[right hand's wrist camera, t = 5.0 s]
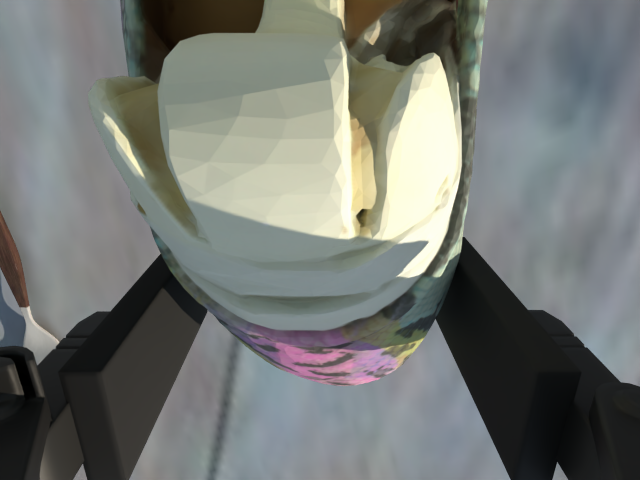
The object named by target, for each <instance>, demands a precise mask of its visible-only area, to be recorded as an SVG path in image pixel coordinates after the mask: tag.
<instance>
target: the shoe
mask: <svg viewBox="0 0 640 480" xmlns="http://www.w3.org/2000/svg"><path fill="white" fill-rule="evenodd" d="M487 2H488V0H120V4H121V18H122V30H123V38H124V45H125V53H126V60H127V67H128V74H129V77H127V76H120V77H113V78H104V79H99V80H97V81H96V82H95V84H94V85H93V87H92V88H91V90H90V91H89V93H88V102H89V108H90V111H91V114H92V117H93V120H94V123H95V125H96V127H97V129H98V132H99V134H100V136H101V138H102V140H103V142H104V144H105V146H106V148H107V150H108V152H109V154H110V157H111V159H112V160H113V162H114V164H115V166H116V167H117V169H118V171H119V172H120V174H121V176H122V177H123V179H124V181H125V183H126V184H127V186H128V188H129V189H130V197H131V201H132V202H133V204H134V205H135V207H136V208H137V210H138V211H139V212H140V214H141V215H142V217H143V218H144V219H145V221H146V222H147V223H148V224H149V225H150V228H151V231H152V234H153V237H154V239H155V242H156V244H157V246H158V248H159V250H160V253H161V255H162V257H163V259H164V261H165V262H166V264H167V266H168V267H169V269H170V271H171V272H172V273H173V275H174V276H175V277H176V279H177V280H178V281H179V283H180V284H181V285H182V286H183V288H184V289H185V290H186V291H187V292H188V293H189V294H190V295H191V296H192V297H193V298H194V299H195V300H196V301H197V302H198V303H200V304H201V305H203V306H204V307H205V308H206V309H207V310H208V311H210V312H211V313H212V314H213V315H214V316H215V317H216V318H217V319H218V321H219V322H220V323H221V324H222V325H223V326H225V327H226V328H227V329H228V330H229V331H230V332H231V333H232V334H233V335H234V336H235V337H236V338H237V339H238V340H239V341H240V342H242V343H243V344H244V345H245V346H246V347H248V348H249V349H250V350H252V351H253V352H254V353H256V354H257V355H258V356H260V357H261V358H263V359H264V360H265V361H267V362H268V363H270V364H272V365H273V366H275V367H277V368H279V369H281V370H284V371H286V372H289V373H292V374H294V375H297V376H300V377H303V378H306V379H309V380H312V381H316V382H319V383H323V384H330V385H335V386H350V385H358V384H363V383H368V382H371V381H374V380H377V379H380V378H381V377H383V376H385V375H387V374H389V373H391V372H392V371H394V370H396V369H397V368H398V367H400V366H401V365H402V364H403V363H404V362H405V361H406V360H407V359H408V358H409V356H410V355H411V354H412V353H413V352H414V351H415V349H416V348H417V347H418V346H419V344H420V343H421V342H422V340H423V339H424V337H425V336H426V334H427V332H428V331H429V329H430V327H431V326H432V324H433V322H434V320H435V318H436V316H437V314H438V313H439V311H440V309H441V307H442V305H443V302H444V300H445V297H446V295H447V292H448V289H449V287H450V284H451V282H452V279H453V276H454V273H455V270H456V267H457V264H458V260H459V256H460V252H461V246H462V235H463V226H464V219H465V215H466V211H467V204H468V197H469V189H470V180H471V175H472V159H473V154H474V142H475V125H476V106H477V97H478V89H479V73H480V62H481V54H482V44H483V33H484V23H485V14H486V8H487Z"/></svg>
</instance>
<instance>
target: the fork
mask: <svg viewBox="0 0 640 480" xmlns="http://www.w3.org/2000/svg"><path fill="white" fill-rule="evenodd" d="M0 268H1V270H2V272H3V274H4V276H5V278H6V280H7V282H8V284H9V286H10V288H11V290H12V293H13V295H14V297H15V299H16V301H17V303H18V305H19V307H20V309H21V311H22V313H23V316H24V318H25V322H26V330H25V335H24V340H23V347H26V348H28V349H29V350H31V351H32V352H33V353H34V357H35V360H36V363H37V365H38V364H39V363H40V362H41V361H42V360H43V359H44V358H45V357H46V356H47V355H48V354H49V353H50V352H51V351H52V350H53V349H56V346H57V344H58V343H59V341H58V340H57V339H56V338H55V337H54V336H53V335H51V334H50V333H49V332H47V331H46V330H45V329H43V328H42V327H40V326H39V325H38V324H37V323H36V322H35V321H34V319H33V317H32V315H31V311H30V306H29V301H28V295H27V290H26V284H25V278H24V273H23V268H22V264H21V260H20V256H19V253H18V250H17V247H16V245H15V243H14V240H13V238H12V236H11V234H10V231H9V229H8V227H7V225H6V223H5V220H4V218H3V216H2V213H1V211H0Z"/></svg>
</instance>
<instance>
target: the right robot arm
mask: <svg viewBox="0 0 640 480" xmlns="http://www.w3.org/2000/svg"><path fill="white" fill-rule="evenodd" d="M206 313H207V309H206V308H205V307H204V306H203V305H201V304H200V303H198V302H197V301H196V300H195V299H194V298H193V297H192V296H191V295H190V294H189V293H188V292H187V291H186V290H185V289H184V288H183V286H182V285H181V284H180V283H179V281H178V280H177V279H176V277H175V276H174V275H173V273H172V272H171V271H170V269H169V267H168V266H167V264H166V262H165V261H164V259H163V257H162V255H161V254H160V255H159V256H158V258H157V259H156V260H155V261H154V262H153V263H152V264H151V266H150V267H149V268H148V269H147V270H146V271H145V272H144V274H143V275H142V276H141V277H140V278H139V279H138V281H137V282H136V283H135V284H134V285H133V286H132V287H131V289H130V290H129V291H128V292H127V293H126V294H125V295H124V297H123V298H122V299H121V300H120V301H119V302H118V304H117V305H116V306H115V307H114V308H113V309H112V310H111V312H96V313H94V314H92V315H91V316H89V317H87V318H85V319H84V320H82V321H80V322H79V323H78V324H77V325H76V326H75V327H74V328H73V329H72V330H71V331H70V332H69V333H68V334H67V335H66V338H63V339H62V340H61V341H60V342H59V343H58V344H57V346H56V349H53V350H52V351H51V352H50V353H49V354H48V355H47V356H46V357H45V358H44V359H43V360H42V361H41V362H40V363H39V364H38V365H37V363H36V360H35V357H34V353H33V352H32V351H31V350H29V349H28V348H26V347H19V346H8V347H0V480H73V478H74V477H75V475H76V473H77V472H78V470H79V469H80V467H81V465H82V464H83V465H84V469H85V473H86V476H87V480H129V478H130V476H131V474H132V472H133V470H134V468H135V465H136V463H137V461H138V459H139V457H140V455H141V453H142V450H143V448H144V446H145V444H146V442H147V440H148V438H149V435H150V433H151V431H152V429H153V427H154V425H155V423H156V420H157V418H158V416H159V414H160V412H161V410H162V408H163V406H164V403H165V401H166V399H167V397H168V395H169V393H170V391H171V388H172V386H173V384H174V382H175V380H176V378H177V376H178V373H179V371H180V369H181V367H182V365H183V363H184V361H185V358H186V356H187V354H188V352H189V350H190V348H191V346H192V343H193V341H194V339H195V337H196V335H197V333H198V331H199V328H200V326H201V324H202V322H203V320H204V318H205V316H206ZM436 321H437V323H438V325H439V327H440V329H441V331H442V333H443V336H444V338H445V340H446V342H447V344H448V346H449V348H450V350H451V353H452V355H453V357H454V359H455V361H456V363H457V365H458V368H459V370H460V372H461V374H462V376H463V378H464V380H465V383H466V385H467V387H468V389H469V391H470V393H471V395H472V398H473V400H474V402H475V404H476V406H477V408H478V410H479V413H480V415H481V417H482V419H483V421H484V423H485V425H486V428H487V430H488V432H489V434H490V436H491V438H492V440H493V443H494V445H495V447H496V449H497V451H498V453H499V455H500V458H501V460H502V462H503V464H504V466H505V468H506V470H507V473H508V475H509V477H510V479H511V480H552V479H553V475H554V471H555V468H556V464H557V462H558V463H559V465H560V467H561V468H562V470H563V472H564V473H565V475H566V477H567V478H568V480H640V387H639V386H636V385H633V384H630V383H621V382H620V381H619V380H618V379H617V378H616V377H615V376H614V375H613V374H612V373H611V372H610V371H609V370H608V369H607V368H606V367H605V366H604V365H603V364H602V363H601V361H600V360H599V359H598V358H597V357H596V356H595V355H594V354H593V353H592V352H591V351H590V350H589V349H588V348H585V347H584V344H583V343H582V342H581V341H580V340H579V339H578V338H577V337H574V334H573V333H572V331H571V330H570V329H569V328H568V327H567V326H566V325H565V324H564V323H563V322H562V321H560V320H559V319H557V318H555V317H554V316H552V315H550V314H549V313H547V312H545V311H543V310H527V309H526V307H525V306H524V305H523V304H522V303H521V302H520V300H519V299H518V298H517V297H516V296H515V295H514V294H513V292H512V291H511V290H510V289H509V288H508V287H507V286H506V284H505V283H504V282H503V281H502V280H501V279H500V277H499V276H498V275H497V274H496V273H495V272H494V271H493V269H492V268H491V267H490V266H489V265H488V264H487V263H486V261H485V260H484V259H483V258H482V257H481V256H480V254H479V253H478V252H477V251H476V250H475V249H474V248H473V246H472V245H471V244H470V243H469V242H468V241H467V240H466V238H465V237H462V246H461V252H460V256H459V260H458V264H457V267H456V270H455V273H454V276H453V279H452V282H451V284H450V287H449V289H448V292H447V295H446V297H445V300H444V302H443V305H442V307H441V309H440V311H439V313H438V314H437V316H436Z"/></svg>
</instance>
